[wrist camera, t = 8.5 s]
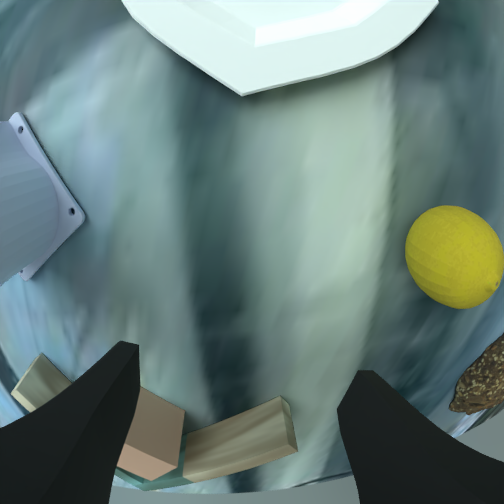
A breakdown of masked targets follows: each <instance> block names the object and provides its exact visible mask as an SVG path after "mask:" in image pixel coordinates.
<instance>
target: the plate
mask: <svg viewBox="0 0 504 504" xmlns="http://www.w3.org/2000/svg"><path fill="white" fill-rule="evenodd" d="M121 1H122V2H123V4H124V5H125V7H126V8H127V10H128V11H129V13H130V14H131V16H132V17H133V18H134V19H135V20H136V21H137V22H138V23H139V24H140V25H142V26H143V27H144V28H145V29H146V30H147V31H148V32H149V33H150V34H151V35H153V36H154V37H155V38H157V39H158V40H160V41H161V42H162V43H164V44H165V45H166V46H168V47H169V48H170V49H172V50H173V51H174V52H176V53H177V54H178V55H180V56H182V57H183V58H185V59H186V60H188V61H189V62H191V63H192V64H194V65H195V66H197V67H198V68H200V69H201V70H203V71H204V72H206V73H207V74H208V75H210V76H211V77H213V78H214V79H216V80H218V81H219V82H221V83H222V84H224V85H225V86H227V87H228V88H230V89H232V90H233V91H235V92H236V93H238V94H239V95H241V96H245V95H249V94H252V93H256V92H260V91H264V90H268V89H272V88H277V87H281V86H285V85H289V84H293V83H297V82H302V81H306V80H310V79H315V78H320V77H324V76H327V75H330V74H334V73H337V72H341V71H345V70H348V69H352V68H355V67H358V66H360V65H362V64H365V63H367V62H370V61H372V60H375V59H378V58H379V57H381V56H383V55H384V54H386V53H388V52H389V51H391V50H393V49H394V48H396V47H398V46H399V45H400V44H401V43H402V42H403V41H404V40H406V39H407V38H408V37H409V36H410V35H411V34H413V33H414V32H415V31H416V30H417V28H418V27H419V26H420V25H421V24H422V23H423V22H424V21H425V19H426V18H427V17H428V16H429V15H430V14H431V12H432V11H433V10H434V8H435V7H436V6H437V5H438V3H439V2H438V0H121Z"/></svg>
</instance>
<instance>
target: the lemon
mask: <svg viewBox="0 0 504 504" xmlns="http://www.w3.org/2000/svg"><path fill="white" fill-rule="evenodd" d="M405 258H406V262H407V266H408V270H409V272H410V274H411V275H412V277H413V279H414V281H415V282H416V284H417V285H418V286H419V287H420V288H421V289H422V290H423V291H424V292H425V293H426V294H427V295H428V296H430V297H431V298H432V299H434V300H435V301H437V302H439V303H441V304H444V305H447V306H449V307H452V308H457V309H466V308H472V307H475V306H477V305H480V304H481V303H483V302H484V301H486V300H487V299H488V298H489V297H490V296H491V295H492V294H493V293H494V292H495V290H496V289H497V288H498V286H499V284H500V281H501V278H502V274H503V270H504V254H503V248H502V245H501V243H500V240H499V238H498V236H497V234H496V233H495V231H494V230H493V229H492V228H491V227H490V226H489V225H488V224H487V222H485V221H484V220H483V219H482V218H481V217H479V216H478V215H476V214H475V213H473V212H471V211H469V210H466V209H464V208H461V207H458V206H439V207H435V208H432V209H429V210H428V211H426V212H425V213H423V214H421V215H420V216H419V217H418V218H417V220H416V221H415V222H414V223H413V225H412V227H411V228H410V231H409V233H408V236H407V239H406V245H405Z"/></svg>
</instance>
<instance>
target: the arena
mask: <svg viewBox="0 0 504 504" xmlns="http://www.w3.org/2000/svg"><path fill="white" fill-rule="evenodd" d="M71 384H72V383H71V382H70V381H69V380H68V379H67V378H66V377H65V376H64V375H63V374H62V373H61V372H60V371H59V370H58V369H57V368H56V367H55V366H54V365H53V364H52V363H51V362H50V361H49V360H48V359H47V358H46V357H45V356H44V355H43V354H42V353H41V354H40V355H39V356H38V357H36V358H35V360H34V361H33V362H32V364H31V365H30V366H29V368H28V369H27V371H26V372H25V374H24V375H23V376H22V378H21V379H20V381H19V382H18V384H17V385H16V387H15V388H14V390H13V391H12V393H11V394H12V395H13V396H14V397H15V398H16V399H17V400H18V401H19V402H20V403H21V404H22V405H23V406H24V407H25V408H26V409H27V410H28V411H29V412H32V411H34V410H35V409H37V408H39V407H40V406H42V405H43V404H45V403H46V402H48V401H49V400H51V399H52V398H54V397H55V396H56V395H58V394H59V393H60V392H62V391H63V390H64V389H65V388H67V387H68V386H69V385H71ZM295 452H298V448H297V443H296V438H295V433H294V427H293V422H292V417H291V412H290V407H289V404H288V403H287V402H286V401H285V400H284V399H283V398H282V397H281V396H278V397H276V398H274V399H272V400H270V401H268V402H266V403H263V404H261V405H259V406H257V407H254V408H252V409H250V410H247V411H245V412H243V413H240V414H238V415H235V416H233V417H231V418H228V419H226V420H223V421H220V422H218V423H215V424H213V425H210V426H207V427H205V428H202V429H199V430H196V431H193V432H191V433H188V434H185V435H182V436H181V444H180V451H179V459H178V467H177V468H175V469H173V470H171V471H169V472H167V473H166V474H164V475H162V476H160V477H158V478H156V479H154V480H152V481H150V480H147V479H145V478H143V477H140V476H138V475H136V474H133V473H131V472H129V471H127V470H124V469H122V468H120V467H118V466H117V467H116V470H115V474H114V475H116V476H118V477H119V478H121V479H123V480H125V481H126V482H128V483H130V484H132V485H134V486H135V487H137V488H139V489H141V490H143V491H149V490H157V489H163V488H169V487H175V486H181V485H186V484H191V483H196V482H200V481H205V480H209V479H213V478H217V477H221V476H225V475H229V474H232V473H236V472H239V471H243V470H246V469H249V468H253V467H256V466H259V465H262V464H265V463H268V462H271V461H274V460H276V459H279V458H282V457H285V456H287V455H290V454H292V453H295Z"/></svg>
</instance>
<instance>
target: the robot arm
mask: <svg viewBox="0 0 504 504" xmlns="http://www.w3.org/2000/svg"><path fill="white" fill-rule="evenodd" d="M22 127H23V132H22ZM71 208H73V209H74V210H75V214H73V213H72V212H71ZM84 221H85V214H84V212H83V211H82V209H81V208H80V206H79V205H78V204H77V202H76V201H75V199H74V198H73V196H72V195H71V193H70V192H69V190H68V189H67V187H66V186H65V184H64V183H63V181H62V180H61V178H60V177H59V175H58V174H57V172H56V171H55V169H54V167H53V166H52V164H51V163H50V161H49V159H48V158H47V156H46V155H45V153H44V151H43V150H42V148H41V146H40V145H39V143H38V141H37V139H36V138H35V136H34V134H33V132H32V131H31V129H30V127H29V125H28V124H27V122H26V120H25V118H24V116H23V114H22V113H20V112H16V113H14V114H13V116H12V117H11V118H10V120H9V121H0V286H2V285H3V284H4V283H5V282H7V281H8V280H9V279H10V278H12V277H13V276H14V275H16V274H17V273H18V274H19V275H20V276H21V278H22V279H23V280H24V281H28V280H29V279H31V277H32V276H33V275H34V274H35V273H36V272H37V271H38V269H39V268H40V267H41V266H42V265H43V264H44V263H45V262H46V261H47V259H48V258H49V257H50V256H51V255H52V254H53V253H54V252H55V251H56V250H57V249H58V248H59V247H60V246H61V245H62V244H63V242H64V241H65V240H66V239H67V238H68V237H69V236H70V235H71V234H72V233H73V232H74V231H75V230H76V229H77V228H78V227H79V226H80V225H81V224H82V223H83V222H84ZM22 269H23V270H22ZM139 393H140V367H139V345H137V344H133V343H128V342H124V341H119V342H118V343H117V344H116V345H115V346H114V347H112V348H111V349H110V350H109V351H108V352H107V353H106V354H105V355H104V356H103V357H102V358H101V359H100V360H99V361H97V362H96V363H95V364H94V365H93V366H92V367H91V368H90V369H88V370H87V371H86V372H85V373H84V374H83V375H82V376H80V377H79V378H78V379H77V380H76V381H74V382H73V383H72V384H71V385H69V386H68V387H67V388H65V389H64V390H63V391H62V392H60V393H59V394H58V395H56V396H55V397H54V398H52V399H51V400H49V401H48V402H46V403H45V404H43V405H42V406H40V407H39V408H37V409H35V410H34V411H32V412H31V413H29V414H27V415H25V416H23V417H22V418H20V419H18V420H16V421H14V422H12V423H10V424H8V425H6V426H4V427H2V428H0V504H109V498H110V492H111V487H112V482H113V477H114V474H115V470H116V467H117V464H118V461H119V458H120V455H121V452H122V449H123V446H124V443H125V440H126V438H127V435H128V432H129V429H130V426H131V423H132V421H133V418H134V415H135V411H136V406H137V402H138V398H139ZM337 414H338V421H339V427H340V432H341V436H342V439H343V443H344V446H345V449H346V452H347V456H348V459H349V462H350V465H351V468H352V471H353V475H354V478H355V481H356V485H357V489H358V494H359V499H360V504H504V462H502V461H499V460H496V459H494V458H491V457H489V456H486V455H484V454H482V453H479V452H478V451H476V450H474V449H472V448H470V447H468V446H466V445H464V444H463V443H461V442H459V441H458V440H456V439H455V438H453V437H452V436H450V435H449V434H447V433H446V432H444V431H443V430H441V429H440V428H439V427H437V426H436V425H435V424H434V423H432V422H431V421H430V420H429V419H427V418H426V417H425V416H424V415H422V414H421V413H420V412H419V411H418V410H417V409H415V408H414V407H413V406H412V405H411V404H410V403H409V402H408V401H407V400H405V399H404V398H403V397H402V396H401V395H400V394H399V393H398V392H397V391H396V390H395V389H393V388H392V387H391V386H390V385H389V384H388V383H387V382H386V381H385V380H384V379H382V378H381V377H380V376H379V375H378V374H376V373H375V372H374V371H373V370H358V371H357V373H356V375H355V377H354V379H353V381H352V383H351V385H350V386H349V388H348V390H347V392H346V394H345V395H344V397H343V399H342V401H341V403H340V404H339V406H338V408H337Z"/></svg>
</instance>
